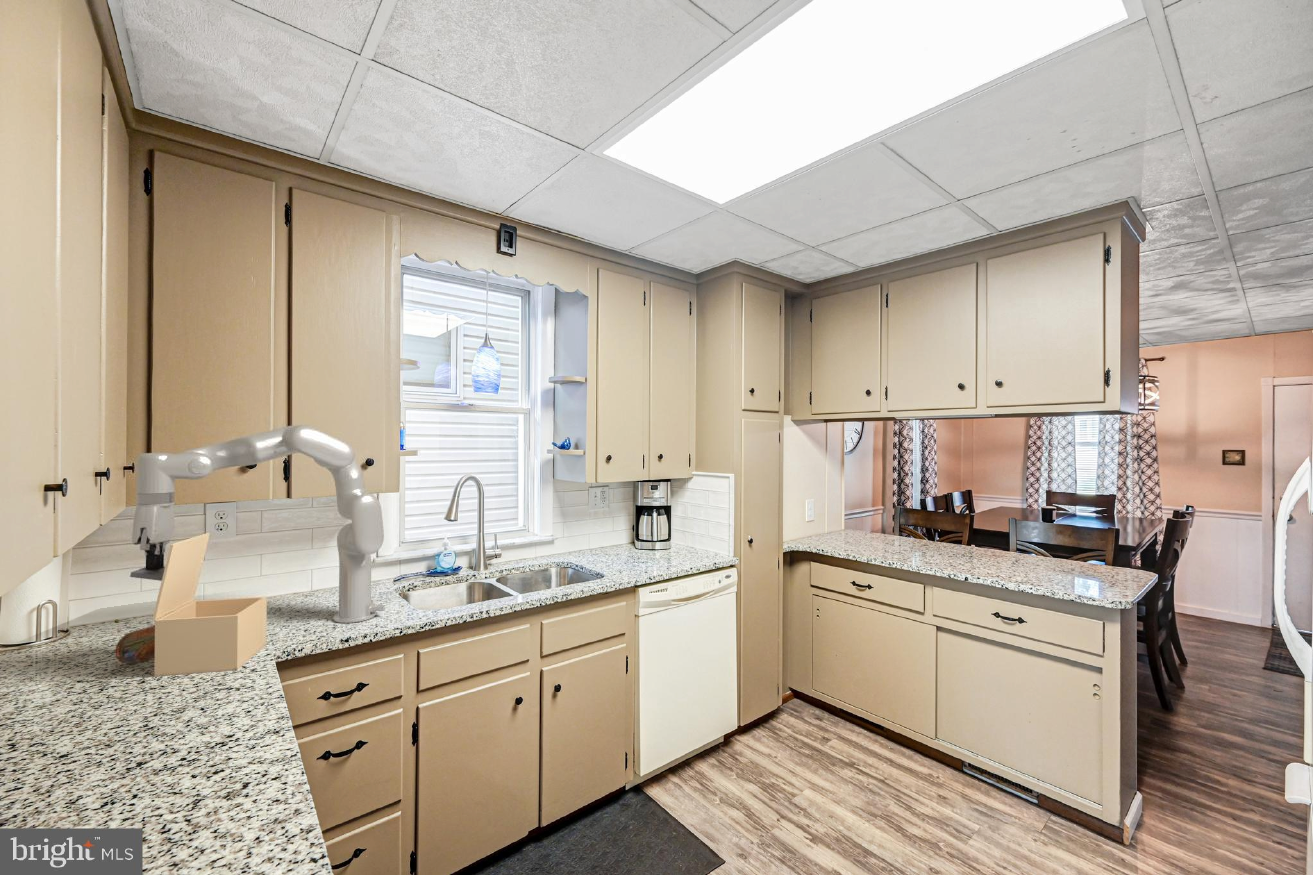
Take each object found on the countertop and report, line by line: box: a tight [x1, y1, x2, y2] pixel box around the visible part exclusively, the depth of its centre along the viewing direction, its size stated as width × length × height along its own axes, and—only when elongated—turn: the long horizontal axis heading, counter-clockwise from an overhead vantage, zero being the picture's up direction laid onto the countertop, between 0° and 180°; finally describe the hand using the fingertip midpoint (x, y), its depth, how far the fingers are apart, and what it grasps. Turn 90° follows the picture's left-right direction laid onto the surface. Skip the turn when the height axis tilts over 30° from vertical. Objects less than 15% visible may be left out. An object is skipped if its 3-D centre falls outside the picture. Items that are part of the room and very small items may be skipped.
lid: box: [129, 532, 211, 621], centre depth 150 cm, size 19×18×10 cm
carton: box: [153, 596, 268, 677], centre depth 153 cm, size 18×18×14 cm
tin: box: [115, 624, 155, 665], centre depth 154 cm, size 15×3×8 cm, turn 168°
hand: (154, 569), depth 150 cm, fingers closed
